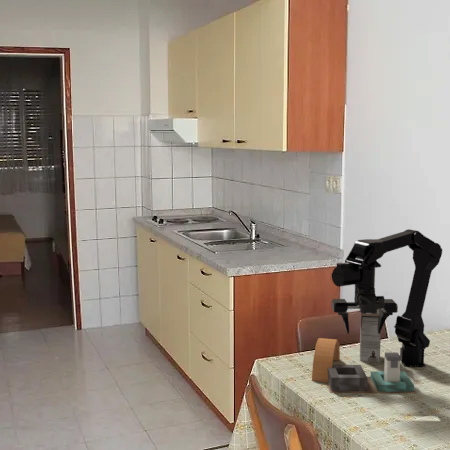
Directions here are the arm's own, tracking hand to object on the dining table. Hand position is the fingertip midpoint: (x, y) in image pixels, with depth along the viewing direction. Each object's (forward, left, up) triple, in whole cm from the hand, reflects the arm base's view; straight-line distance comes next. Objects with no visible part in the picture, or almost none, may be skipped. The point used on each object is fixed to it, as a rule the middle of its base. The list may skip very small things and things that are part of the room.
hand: (363, 333), depth 187 cm
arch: (+11, -2, -13) cm, 17 cm away
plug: (-7, +10, -12) cm, 17 cm away
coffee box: (-5, -13, -13) cm, 19 cm away
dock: (0, +10, -13) cm, 16 cm away
